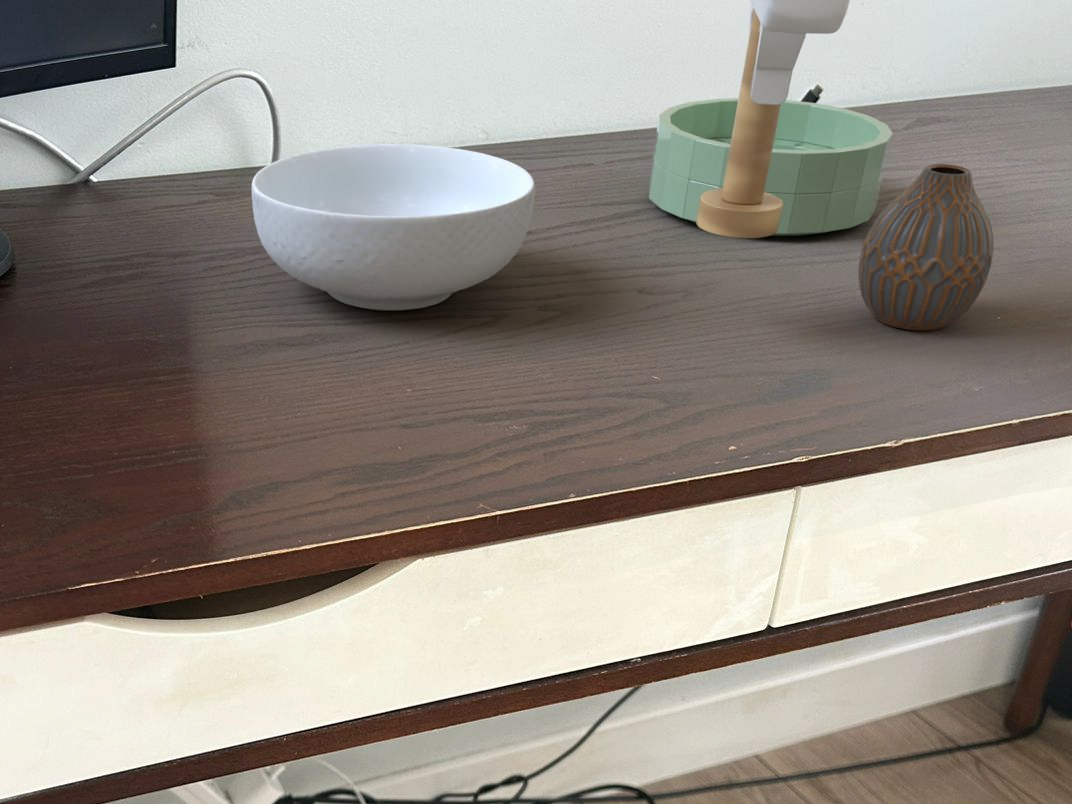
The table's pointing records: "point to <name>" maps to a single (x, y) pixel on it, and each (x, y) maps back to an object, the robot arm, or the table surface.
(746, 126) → the stirring stick
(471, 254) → the cereal bowl
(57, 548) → the table surface
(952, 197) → the vase
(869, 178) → the green round tub
